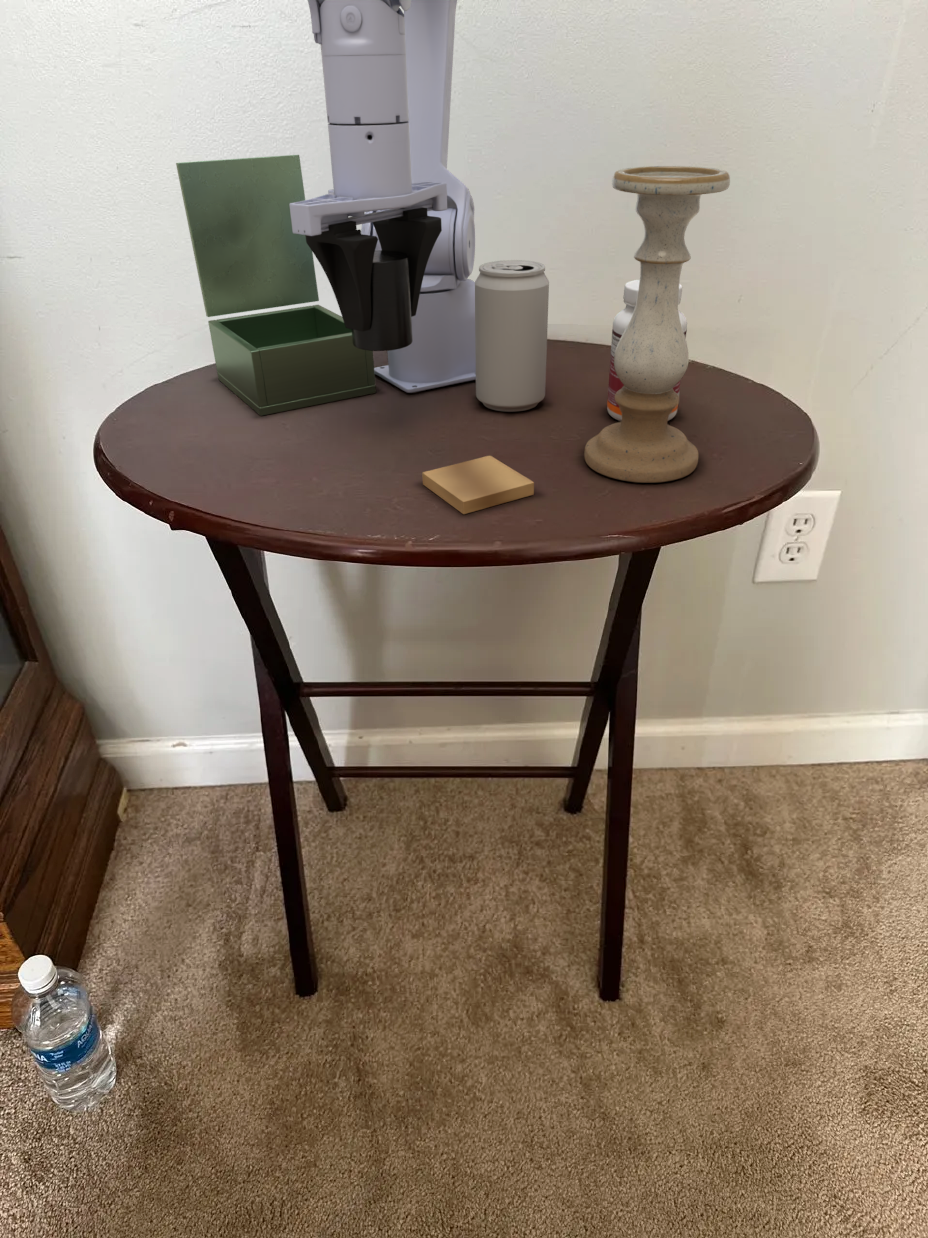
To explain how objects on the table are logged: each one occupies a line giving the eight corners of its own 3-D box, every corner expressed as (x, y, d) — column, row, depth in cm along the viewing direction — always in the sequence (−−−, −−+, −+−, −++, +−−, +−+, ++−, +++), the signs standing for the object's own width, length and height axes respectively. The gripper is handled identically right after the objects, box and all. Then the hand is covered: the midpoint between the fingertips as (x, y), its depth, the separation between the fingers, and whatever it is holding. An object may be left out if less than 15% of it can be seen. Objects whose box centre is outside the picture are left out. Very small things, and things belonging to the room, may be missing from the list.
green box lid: (299, 154, 80) (297, 154, 81) (177, 162, 75) (175, 162, 76) (319, 300, 87) (317, 300, 87) (208, 317, 82) (206, 316, 82)
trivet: (490, 467, 66) (490, 454, 66) (533, 494, 62) (534, 482, 61) (422, 484, 64) (422, 472, 63) (463, 514, 59) (463, 501, 59)
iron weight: (381, 331, 71) (376, 247, 67) (424, 340, 68) (421, 254, 65) (340, 344, 68) (332, 257, 64) (383, 354, 65) (377, 264, 61)
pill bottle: (653, 399, 79) (667, 273, 72) (690, 421, 74) (708, 288, 68) (593, 408, 77) (602, 280, 71) (627, 431, 72) (640, 295, 66)
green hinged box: (376, 392, 81) (371, 331, 78) (260, 416, 76) (250, 351, 73) (324, 360, 90) (318, 304, 87) (218, 379, 85) (207, 320, 82)
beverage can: (540, 416, 75) (545, 273, 69) (469, 412, 76) (467, 271, 70) (548, 393, 80) (554, 258, 74) (482, 389, 81) (482, 256, 75)
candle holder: (561, 462, 66) (576, 172, 55) (626, 432, 72) (652, 161, 60) (656, 495, 61) (694, 182, 50) (718, 459, 67) (765, 169, 55)
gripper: (396, 115, 66) (405, 296, 74) (250, 127, 57) (277, 333, 64) (466, 117, 63) (468, 308, 70) (322, 130, 53) (342, 348, 61)
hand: (381, 321), depth 67 cm, fingers closed on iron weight, 5 cm apart
